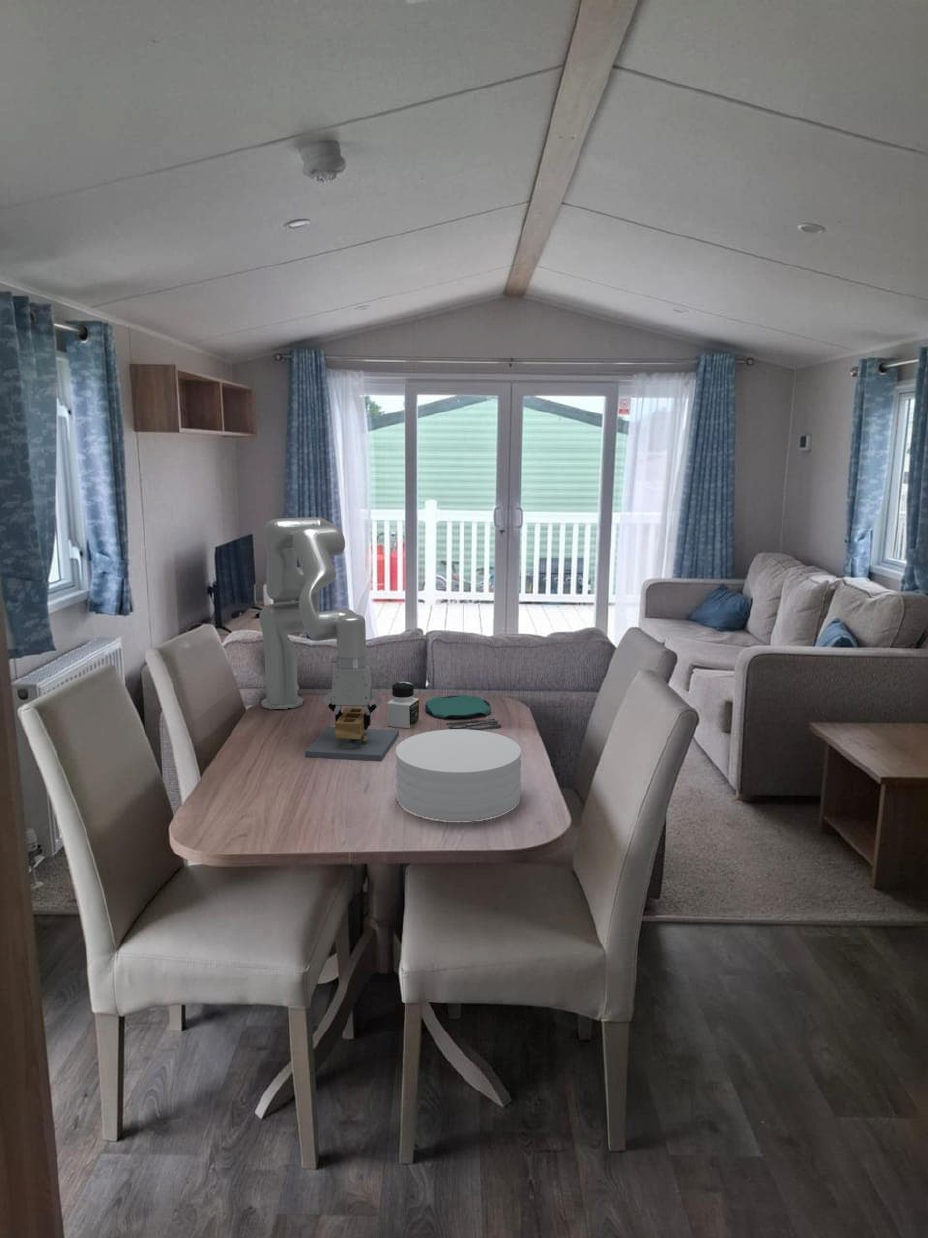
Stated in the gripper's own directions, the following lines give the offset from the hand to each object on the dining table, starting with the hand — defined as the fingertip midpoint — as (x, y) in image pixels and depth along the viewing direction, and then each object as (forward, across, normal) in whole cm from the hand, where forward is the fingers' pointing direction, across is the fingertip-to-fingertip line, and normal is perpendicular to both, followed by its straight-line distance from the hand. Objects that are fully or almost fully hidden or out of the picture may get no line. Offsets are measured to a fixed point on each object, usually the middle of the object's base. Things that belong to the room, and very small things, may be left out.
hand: (353, 727), depth 223 cm
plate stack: (+5, +30, -32) cm, 44 cm away
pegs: (+4, 0, 0) cm, 4 cm away
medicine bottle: (+5, +11, +19) cm, 22 cm away
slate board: (+5, 0, 0) cm, 5 cm away
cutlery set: (+6, +27, +29) cm, 40 cm away
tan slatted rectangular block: (+1, 0, 0) cm, 1 cm away
